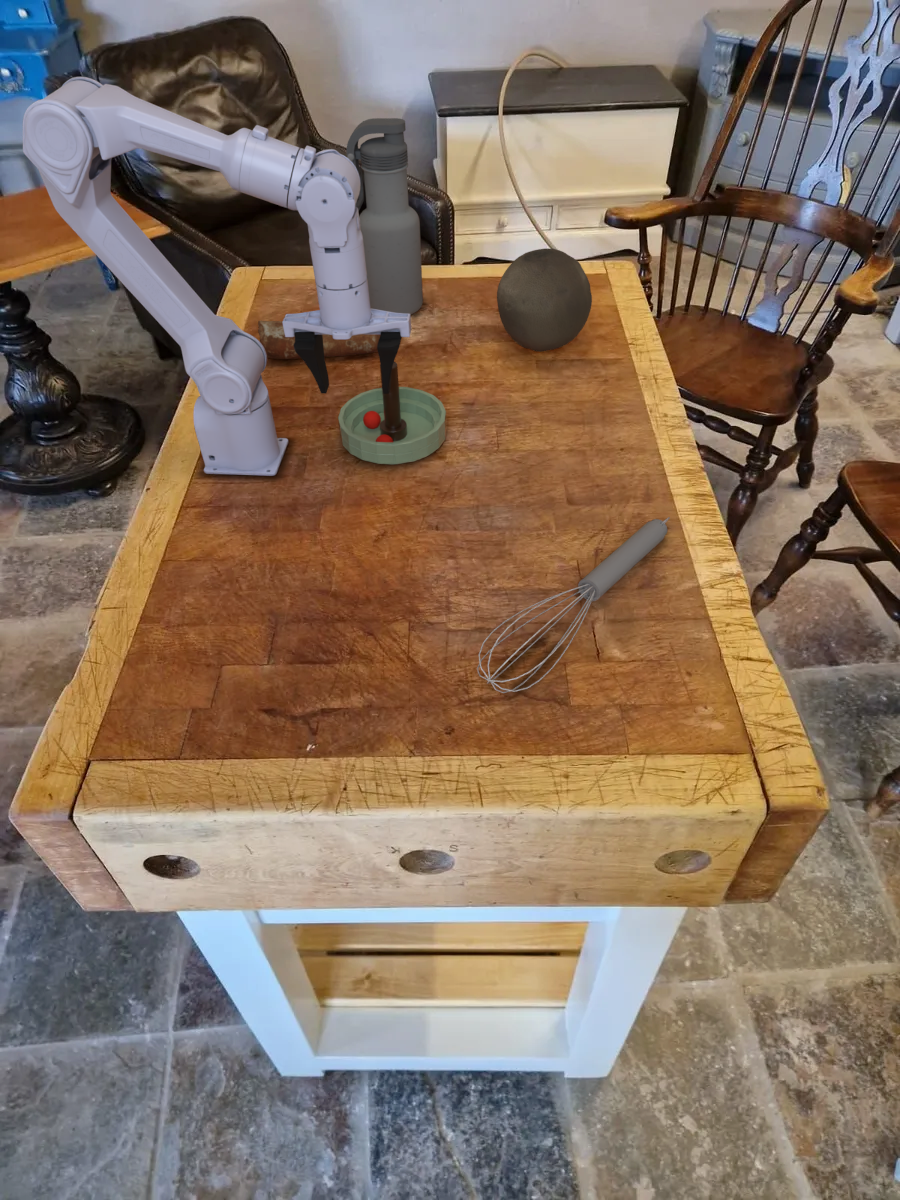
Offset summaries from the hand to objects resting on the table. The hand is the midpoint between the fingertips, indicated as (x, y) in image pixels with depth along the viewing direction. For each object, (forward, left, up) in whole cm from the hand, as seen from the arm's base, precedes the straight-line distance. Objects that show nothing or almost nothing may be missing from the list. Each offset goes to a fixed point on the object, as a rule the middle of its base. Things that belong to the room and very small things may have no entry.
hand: (355, 389), depth 97 cm
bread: (-11, +28, -11) cm, 32 cm away
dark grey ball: (+23, +31, -11) cm, 40 cm away
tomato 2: (+3, +1, -9) cm, 9 cm away
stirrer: (+3, +5, -10) cm, 12 cm away
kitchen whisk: (+27, -25, -11) cm, 39 cm away
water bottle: (-2, +45, -11) cm, 46 cm away
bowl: (+3, +6, -10) cm, 12 cm away
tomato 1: (0, +7, -9) cm, 11 cm away
